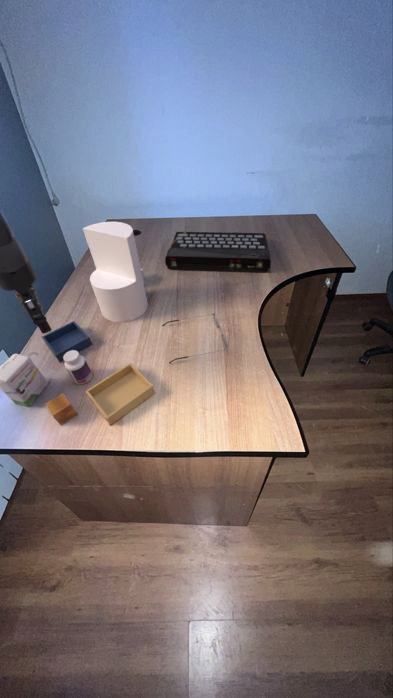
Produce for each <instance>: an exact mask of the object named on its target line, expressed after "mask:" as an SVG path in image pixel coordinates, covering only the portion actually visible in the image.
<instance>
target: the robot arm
mask: <svg viewBox="0 0 393 698" xmlns="http://www.w3.org/2000/svg"><path fill="white" fill-rule="evenodd" d="M37 279H38V275H37V273H36V271H35V269H34V267H33V265H32V263H31V262H30V259H29V258H28V256H27V253H26V252H25V250H24V247H23V246H22V244H21V242H20V241H19V240H18V239H17V237H16V235H15V233H14V231H13V230H12V228H11V226H10V223H9V221H8V220H7V217H6V216H5V215H4V213H3V211H2V210H1V209H0V289H1V290H4V291H7V292H13V293H14V294H15V298H16V299H17V301H18V302H19V303H20V304H21V306H22V308H23V309H24V311H25V313H26V314H28V315H29V317H30V318H31V320H32V323H33V324H34V325H35V326H37V327H38V329H39V331H40V332H41V334H43V335H46V334H48V333H50V332H52V326H51V325H50V324H49V322H48V320H47V316H46V315H45V314H44V311H43V309H44V308H43V305H42V303H41V302H40V300H39V298H38V293H37V291H36V289H35V287H34V286H33V284H34V283H35V282H36V281H37Z"/></svg>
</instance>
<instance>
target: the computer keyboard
mask: <svg viewBox="0 0 393 698" xmlns="http://www.w3.org/2000/svg"><path fill="white" fill-rule="evenodd" d="M271 259H272V258H271V254H270V250H269V246H268V240H267V235H266V233H264V232H222V231H221V232H220V231H219V232H216V231H215V232H214V231H211V232H210V231H176V232H175V234H174V237H173V239H172V242H171V244H170V247H169V248H168V250H167V253H166V255H165V258H164V263H165V266H166V268H167V269H168V270H187V271H188V270H189V271H194V270H195V271H219V272H220V271H221V272H252V273H254V272H255V273H258V272H259V273H267V272H268V271H269V270H270V269H271V265H272V260H271Z"/></svg>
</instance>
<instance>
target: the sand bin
mask: <svg viewBox="0 0 393 698" xmlns="http://www.w3.org/2000/svg"><path fill="white" fill-rule="evenodd" d="M85 393H86V395H87V396H88V398H89V400H90V401H91V402H92V403H93V405H94V406H95V407H96V409H97V410H98V411H99V413H100V414H101V416H102V417H103V418H104V419H105V421H106V422H107V424H108V425H109V426H112V425H113V424H115V423H116V422H117V421H119V420H120V419H122V418H123V417H124V416H125V415H127V414H128V413H130V412H131V411H132V410H134V409H135V408H137V407H138V406H140V405H141V404H142V403H143V402H145V401H146V400H148V399H149V398H150V397H152V396H153V395H155V393H156V391H155V387H154V384H153V383H151V382H150V381H149V380H148V378H146V377H145V375H143V373H142V372H140V371H139V369H138V368H137V367H135V366H134V365H133V364H132V363H131V362H129V363H128V364H126V365H124V366H122V367H121V368H120V369H118V370H116V371H115V372H113V373H112V374H110V375H109V376H107V377H106V378H103V379H102V380H100V381H99V382H97V383H96V384H94V385H92V386H91V387H89V388H88V389H87V390H85Z"/></svg>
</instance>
